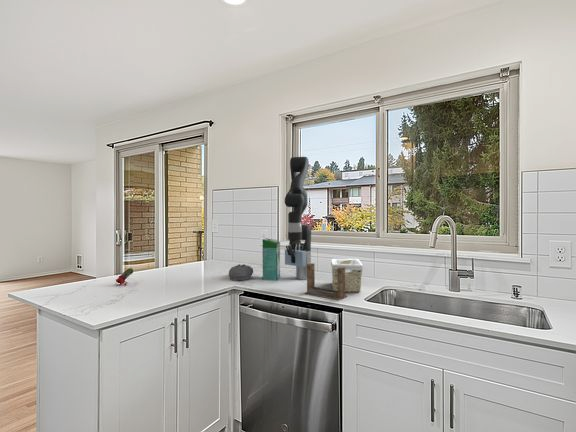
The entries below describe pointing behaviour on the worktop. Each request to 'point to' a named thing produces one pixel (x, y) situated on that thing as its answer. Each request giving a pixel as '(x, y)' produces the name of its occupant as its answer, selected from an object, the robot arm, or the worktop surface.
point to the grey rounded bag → (240, 272)
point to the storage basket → (348, 274)
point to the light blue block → (296, 258)
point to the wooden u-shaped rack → (325, 292)
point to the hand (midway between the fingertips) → (295, 262)
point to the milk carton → (271, 259)
